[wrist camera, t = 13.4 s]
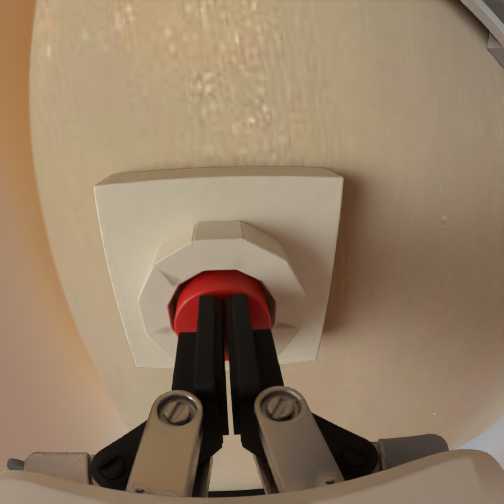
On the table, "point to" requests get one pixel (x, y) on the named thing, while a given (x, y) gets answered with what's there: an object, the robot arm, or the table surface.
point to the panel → (236, 493)
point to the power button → (222, 288)
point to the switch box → (220, 247)
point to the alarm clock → (491, 23)
